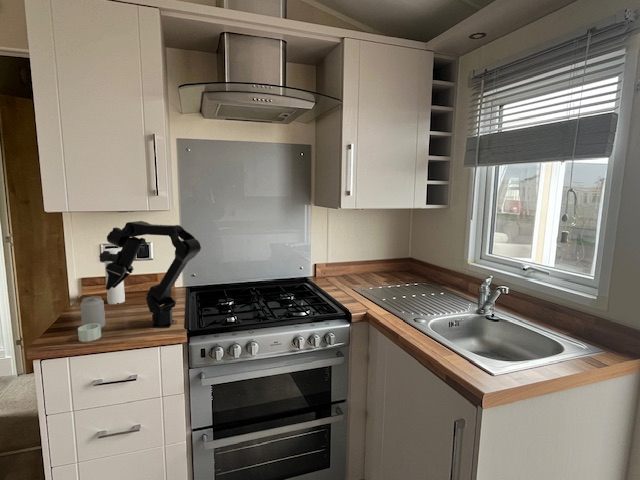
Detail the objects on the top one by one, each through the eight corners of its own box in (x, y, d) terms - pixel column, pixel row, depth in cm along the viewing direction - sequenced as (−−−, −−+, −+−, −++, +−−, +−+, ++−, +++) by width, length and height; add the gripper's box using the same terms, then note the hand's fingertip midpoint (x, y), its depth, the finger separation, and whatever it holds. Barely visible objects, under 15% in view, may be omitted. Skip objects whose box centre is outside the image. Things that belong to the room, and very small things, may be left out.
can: (79, 333, 134) (76, 301, 133) (86, 325, 141) (83, 295, 140) (102, 331, 136) (100, 300, 135) (107, 323, 143) (105, 294, 142)
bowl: (104, 333, 134) (103, 323, 133) (95, 341, 127) (94, 330, 127) (85, 334, 133) (84, 323, 133) (74, 341, 127) (73, 330, 126)
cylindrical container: (103, 303, 168) (100, 250, 165) (116, 298, 175) (113, 247, 172) (116, 304, 166) (112, 251, 163) (128, 300, 173) (125, 248, 169)
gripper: (114, 244, 149) (95, 279, 147) (101, 242, 131) (80, 282, 129) (141, 254, 152) (123, 289, 150) (132, 254, 134) (112, 293, 132)
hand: (110, 288), depth 140 cm, fingers open, 9 cm apart
